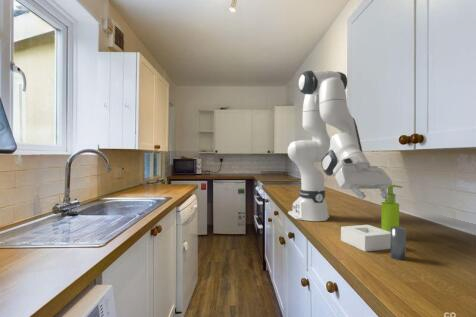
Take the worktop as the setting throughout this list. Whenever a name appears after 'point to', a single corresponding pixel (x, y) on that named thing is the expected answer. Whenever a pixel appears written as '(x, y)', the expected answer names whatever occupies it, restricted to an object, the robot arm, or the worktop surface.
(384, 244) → the socket block
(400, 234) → the metal peg
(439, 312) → the worktop surface
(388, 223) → the soap dispenser
